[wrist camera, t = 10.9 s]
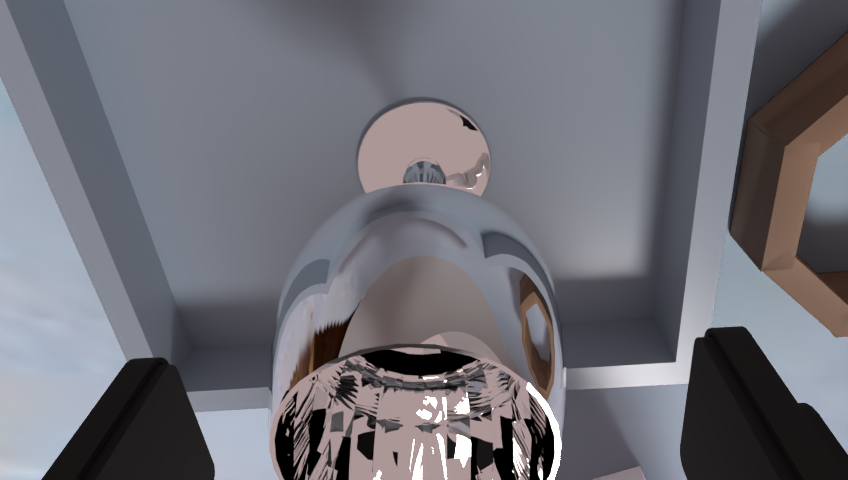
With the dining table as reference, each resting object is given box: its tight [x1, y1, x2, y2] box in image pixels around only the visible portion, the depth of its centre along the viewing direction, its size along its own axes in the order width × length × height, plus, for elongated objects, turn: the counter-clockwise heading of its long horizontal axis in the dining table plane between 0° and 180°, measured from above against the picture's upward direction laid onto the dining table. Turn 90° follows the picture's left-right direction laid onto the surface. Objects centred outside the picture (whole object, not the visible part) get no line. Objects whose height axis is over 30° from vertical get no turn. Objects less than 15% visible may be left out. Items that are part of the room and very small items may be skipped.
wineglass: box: [268, 101, 566, 480], centre depth 15 cm, size 6×6×12 cm
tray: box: [0, 0, 762, 412], centre depth 20 cm, size 16×20×4 cm
